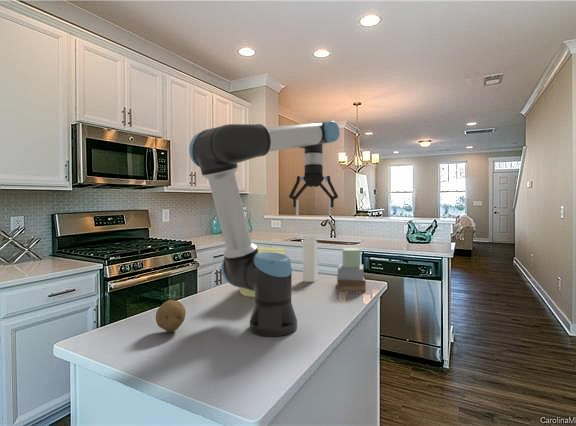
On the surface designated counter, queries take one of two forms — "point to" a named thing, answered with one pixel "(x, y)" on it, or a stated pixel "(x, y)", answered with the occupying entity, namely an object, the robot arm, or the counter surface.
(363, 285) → the tower base
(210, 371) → the counter surface
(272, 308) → the robot arm
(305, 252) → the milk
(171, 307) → the potato
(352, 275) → the tower top
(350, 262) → the sage block
